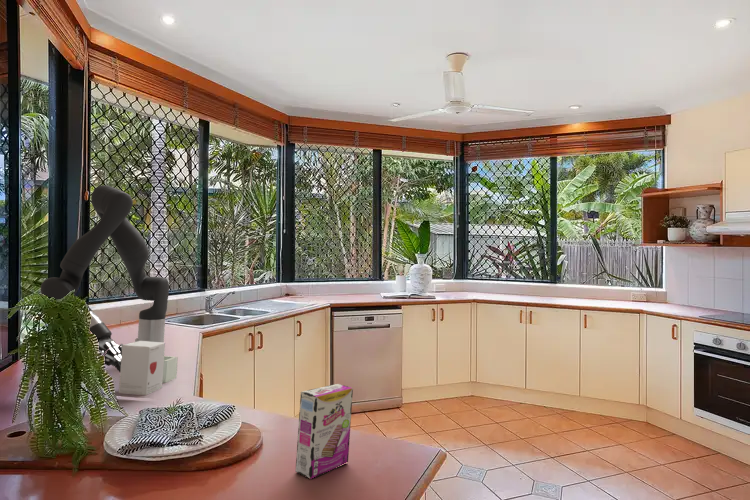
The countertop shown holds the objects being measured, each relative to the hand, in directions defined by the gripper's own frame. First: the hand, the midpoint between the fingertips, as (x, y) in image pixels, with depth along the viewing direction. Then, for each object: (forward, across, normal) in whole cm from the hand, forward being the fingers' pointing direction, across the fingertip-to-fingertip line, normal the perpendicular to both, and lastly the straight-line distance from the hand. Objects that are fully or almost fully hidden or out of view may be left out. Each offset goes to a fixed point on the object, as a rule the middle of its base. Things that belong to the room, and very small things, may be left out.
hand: (126, 372), depth 147 cm
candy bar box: (+53, -42, -45) cm, 81 cm away
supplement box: (+8, 0, +1) cm, 8 cm away
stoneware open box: (+7, +13, +1) cm, 15 cm away
